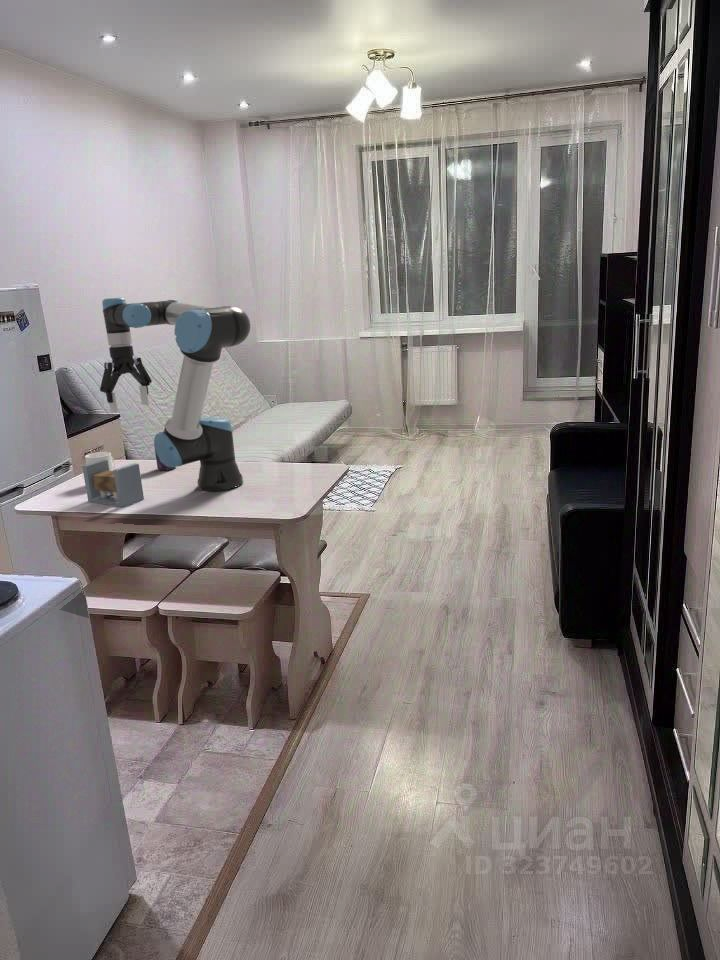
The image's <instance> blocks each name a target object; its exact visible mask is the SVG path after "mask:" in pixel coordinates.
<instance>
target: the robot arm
mask: <svg viewBox="0 0 720 960" xmlns="http://www.w3.org/2000/svg"><path fill="white" fill-rule="evenodd" d="M101 303H102V313H103V319H104V325H105V331H106V336H107V337H106V338H107V342H108V345H109V348H108V350H109V356H110V358H111V361H109V362H108V361H107V362H106V361H105V362H104V364H103V366H104V367H103V369H104V370H103V375H102V380H101V383H100V388H99V391H100V392H101V393H105V395H106V402H107V403H108V404H109V410H110V413H119V410H118V405H117V397H116V393H115V392H113V391H114V389H115V388H116V385H117V383H118V380H119V379H120V377H121V376H122V375H125V374H130V376H132V377H133V378H134V379H135V380H136V381H137V383H139V384H140V385H139V386H138V387H139V394H140V401H141V405H143V406H148V405H149V404H150V402H149V397H148V395H149V387H150V385H151V384H152V382H153V381H152V379H151V377H150V375H149V374H148V371H147V370H146V368H145V366H144V364H143V361H142V358H141V357H134V355H135V354H134V347H133V345H131V344H133V340H132V335H131V333H132V332H131V328H133V329H138V328H139V329H140V328H144V327H150V326H157V325H169V326H170V325H171V326H174V336H175V343H176V345H177V346H178V348H179V350H180V351H179V352H181V354H182V355H183V358H182V359H183V360H182V364H181V370H180V374H179V378H178V385H177V390H176V395H175V400H174V404H173V405H174V406H173V409H172V415H171V417H170V418H168V419H167V420H166V421H165V425H164V429H163V431H160V432H158V433H156V434H155V436H154V438H153V445H154V446H155V447H154V451H155V450H156V453H157V455H158V457H159V459H160V460H161V461H162V463H163V464H164V465H166V466H168V467H175V468H176V467H182V466H184V465H188V464H192V463H195V462H198V461H199V462H200V464H199V465H200V467H199V472H198V478H197V482H196V483H197V489H199V490H200V491H205V492H220V491H222V490H223V491H227V490H226V489H229V488H233V487H235V486H238V485H240V484H242V483H243V484H244V478H243V474H242V473H241V472H240V469H239V466H238V463H237V461H236V455H235V454H236V453H235V447H234V445H235V444H234V437H233V432H234V431H233V428H232V423H231V421H230V419H227V418H224V417H223V418H222V417H202V415H203V414H202V413H203V410H204V409H203V408H204V404H205V402H206V401H205V400H206V397H207V392H208V387H209V382H210V378H211V373H212V370H213V365H214V363H217V362H218V361H220V359H221V354H222V349H225V348H230V347H234V346H238V345H240V344H241V343H243V342H244V341H245V340H247V338H248V336H249V335H250V330H251V322H250V321H251V320H250V318H249V316H248V315H247V312H245V311H244V310H243V309H241V308H239V307H237V306H231V305H230V306H220V307H219V306H216V307H211V306H210V307H209V306H204V305H203V306H202V305H197V304H189V303H182V301H180V300H178V299H177V300H175V299H174V300H173V299H167V300H160V301H147V302H132V303H127V301H126V298H125V297H112V298H110V297H109V298H104V299H102V302H101ZM148 386H149V387H148ZM243 484H242V485H243ZM240 486H241V485H240ZM238 487H239V486H238ZM233 489H234V488H233ZM229 490H230V489H229Z"/></svg>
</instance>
